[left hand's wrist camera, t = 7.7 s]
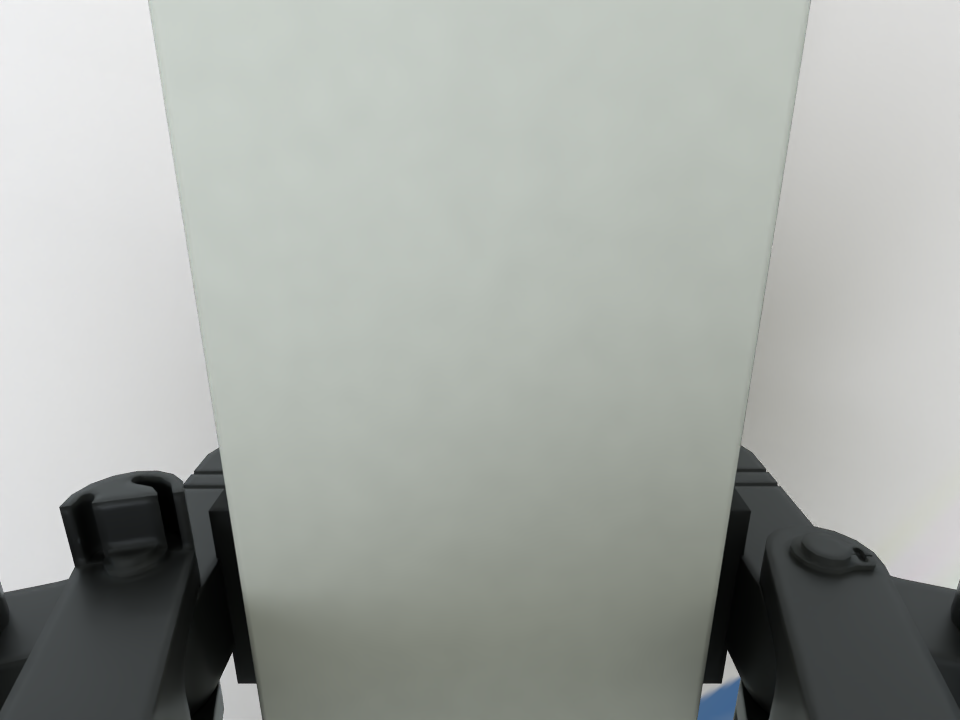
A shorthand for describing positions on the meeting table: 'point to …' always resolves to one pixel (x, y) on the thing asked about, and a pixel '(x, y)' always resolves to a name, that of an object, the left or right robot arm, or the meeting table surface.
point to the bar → (479, 335)
